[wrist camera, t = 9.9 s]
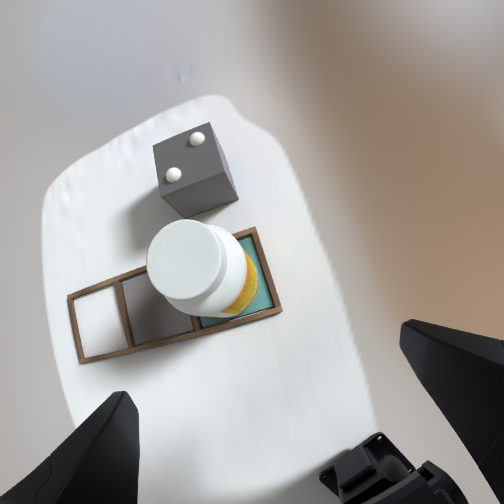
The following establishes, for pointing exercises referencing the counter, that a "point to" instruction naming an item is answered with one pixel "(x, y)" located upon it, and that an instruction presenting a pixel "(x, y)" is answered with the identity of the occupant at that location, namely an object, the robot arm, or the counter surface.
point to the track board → (172, 307)
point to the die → (193, 172)
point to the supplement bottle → (202, 269)
